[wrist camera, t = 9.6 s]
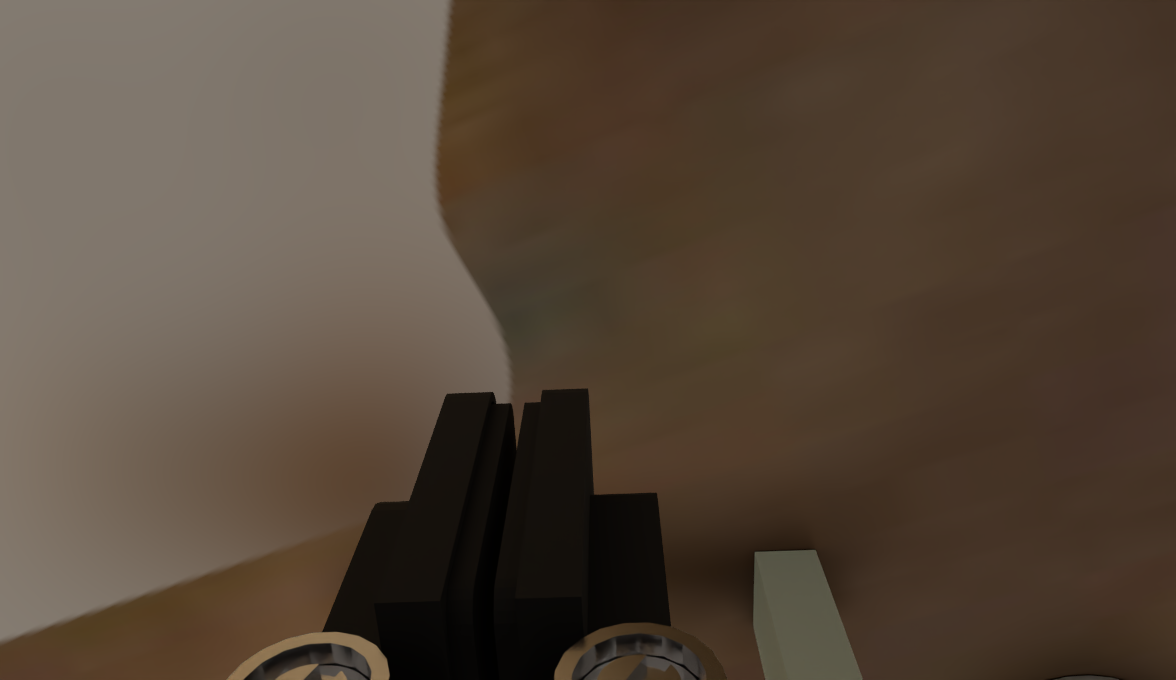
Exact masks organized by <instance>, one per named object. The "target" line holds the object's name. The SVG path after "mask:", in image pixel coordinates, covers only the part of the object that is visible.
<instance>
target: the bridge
mask: <svg viewBox="0 0 1176 680" xmlns="http://www.w3.org/2000/svg"><path fill="white" fill-rule="evenodd" d="M753 628H754V632H755V636H756V641H757V645H758V649H759V654H760V658H761V662H762V667H763V671H764V675H765V680H863V679H862V676H861V673H860V670H859V668H858V665H857V662H856V659H855V657H854V654H853V651H852V648H851V646H850V643H849V640H848V637H847V635H846V632H845V629H844V626H843V624H842V621H841V618H840V616H839V613H838V610H837V607H836V605H835V602H834V599H833V596H832V594H831V591H830V588H829V585H828V583H827V580H826V577H825V574H824V572H823V569H822V566H821V563H820V561H819V558H818V555H817V552H816V550H796V551H767V552H755V562H754V609H753Z"/></svg>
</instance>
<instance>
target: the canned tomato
mask: <svg viewBox="0 0 1176 680" xmlns="http://www.w3.org/2000/svg"><path fill="white" fill-rule="evenodd" d="M1054 680H1119V679H1115V678H1112V677H1102V676H1091V675H1086V676H1071V677H1063V678H1059V679H1054Z"/></svg>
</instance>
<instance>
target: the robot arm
mask: <svg viewBox="0 0 1176 680" xmlns="http://www.w3.org/2000/svg"><path fill="white" fill-rule="evenodd" d="M227 680H728V679H727V677H726V674H725V672H724V669H723V667H722V665H721V663H720V662H719V660H718V659H717V657H716V656H715V654H714V652H713V651H712V650H711V649H710V648H709V647H708V646H706V645H705V644H704V643H703V642H701V641H700V640H699V639H698V638H696V637H695V636H693V635H691V634H688V633H686V632H684V631H681V630H679V629H677V628H674V627H671V622H670V612H669V603H668V593H667V584H666V574H665V565H664V555H663V545H662V536H661V526H660V517H659V507H658V498H657V493H635V494H606V495H594V488H593V468H592V449H591V429H590V410H589V394H588V389H562V390H543V391H542V396H541V402H535V403H525V405H524V410H523V416H522V422H521V428H520V434H519V440H518V446H517V450H516V439H515V427H514V416H513V408H512V404H511V403H508V404H496V400H495V395H494V393H493V392H485V393H484V392H483V393H458V394H457V393H455V394H447V395H446V397H445V399H444V403H443V405H442V408H441V411H440V414H439V417H438V420H437V423H436V425H435V428H434V431H433V434H432V437H431V440H430V443H429V446H428V448H427V451H426V454H425V458H424V460H423V463H422V466H421V469H420V472H419V475H418V477H417V481H416V483H415V486H414V489H413V492H412V495H411V498H410V500H409V501H402V502H380V503H377V504H375V506H374V508H373V510H372V511H371V514H370V516H369V519H368V521H367V523H366V526H365V528H364V531H363V533H362V536H361V538H360V541H359V543H358V546H357V548H356V550H355V553H354V555H353V558H352V560H351V563H350V565H349V568H348V570H347V573H346V575H345V577H344V580H343V582H342V585H341V587H340V590H339V592H338V595H337V597H336V600H335V602H334V604H333V607H332V609H331V612H330V614H329V617H328V619H327V622H326V624H325V627H324V629H323V631H322V632H321V633H310V634H306V635H301V636H297V637H293V638H288V639H286V640H283V641H281V642H279V643H276V644H274V645H272V646H269V647H267V648H265V649H263V650H261V651H260V652H258V653H257V654H255V655H254V656H252V657H251V658H249V659H248V660H246V661H245V662H243V663H242V664H241V665H240V666H239V667H238V668H237V669H236V670H235V671H234V672H233V673H232V674H231V675H230V676H229V678H228V679H227Z"/></svg>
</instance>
